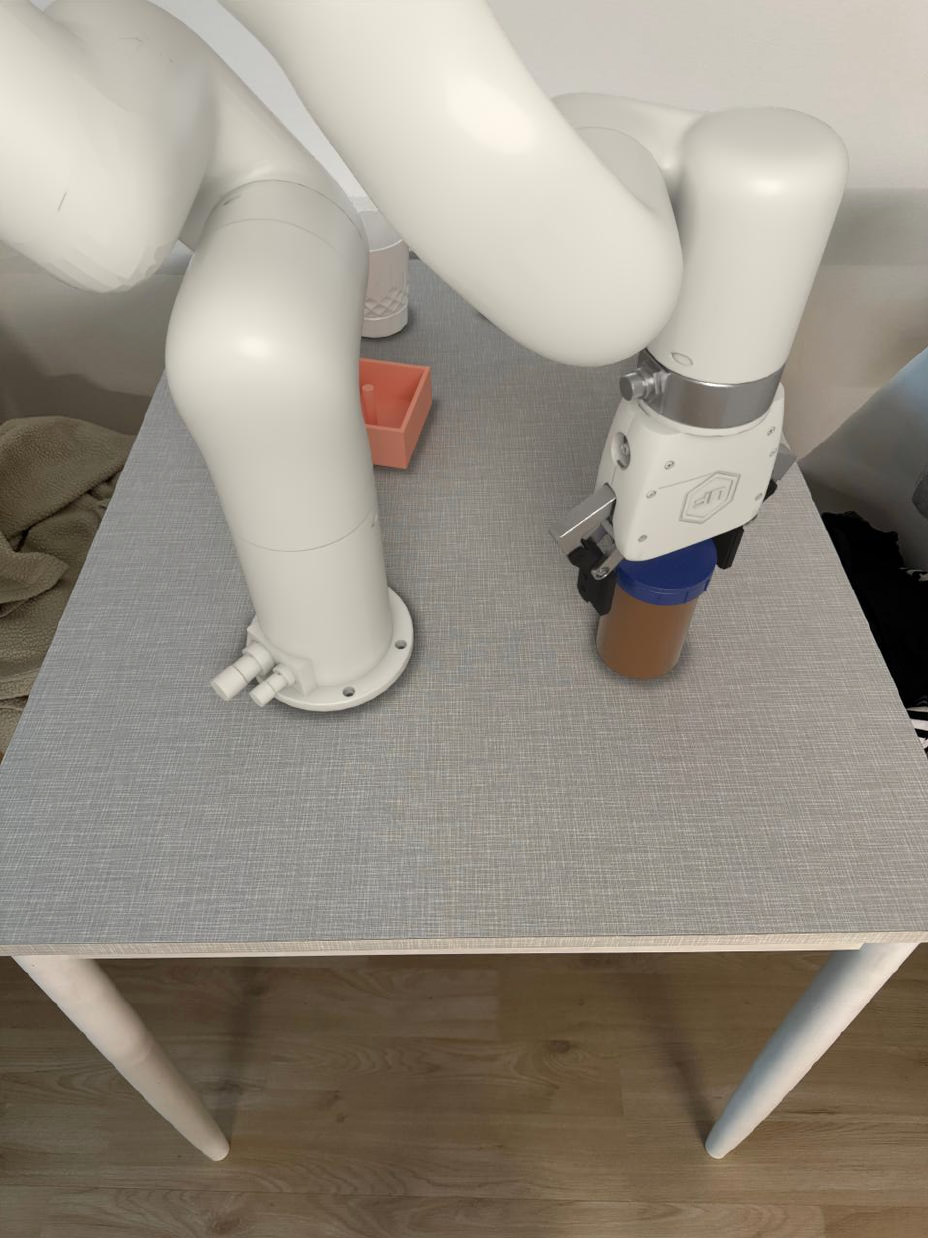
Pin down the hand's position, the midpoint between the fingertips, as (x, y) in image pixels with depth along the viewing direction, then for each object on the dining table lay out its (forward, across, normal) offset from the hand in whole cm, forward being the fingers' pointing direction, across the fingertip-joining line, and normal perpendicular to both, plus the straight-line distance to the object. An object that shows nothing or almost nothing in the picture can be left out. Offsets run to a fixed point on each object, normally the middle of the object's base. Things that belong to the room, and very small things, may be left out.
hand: (654, 577), depth 60 cm
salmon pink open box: (+8, -13, +35) cm, 38 cm away
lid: (-2, 0, 0) cm, 2 cm away
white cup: (+8, -3, +48) cm, 49 cm away
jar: (+8, 0, 0) cm, 8 cm away
